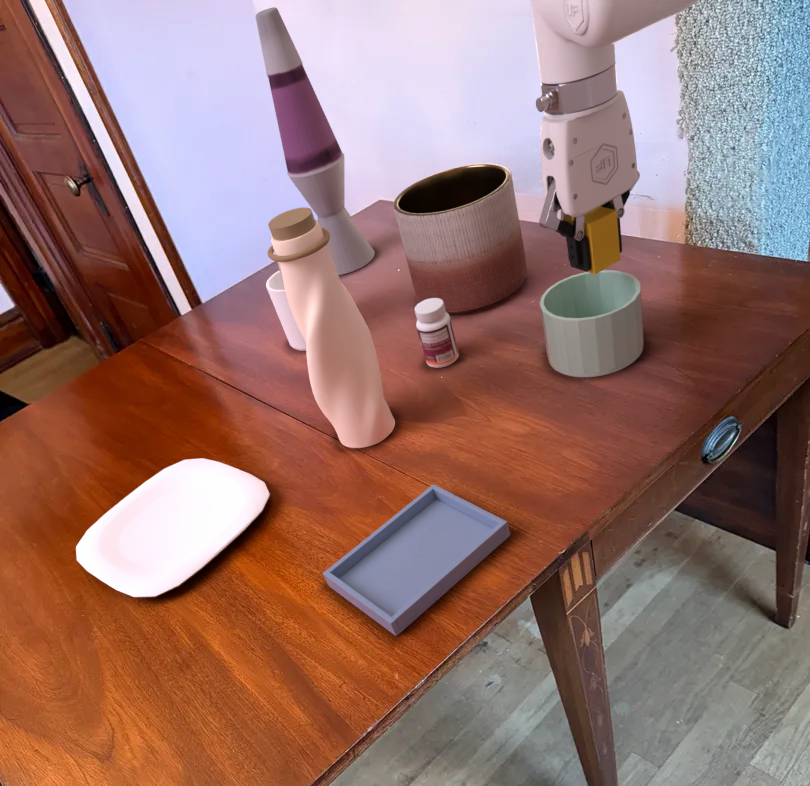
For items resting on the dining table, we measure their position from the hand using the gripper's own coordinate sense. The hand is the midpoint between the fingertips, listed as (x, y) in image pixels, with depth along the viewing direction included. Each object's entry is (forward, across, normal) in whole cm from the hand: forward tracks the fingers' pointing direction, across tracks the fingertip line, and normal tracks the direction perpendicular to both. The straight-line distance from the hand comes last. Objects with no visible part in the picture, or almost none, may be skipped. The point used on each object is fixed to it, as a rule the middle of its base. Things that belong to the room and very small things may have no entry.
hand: (596, 258), depth 89 cm
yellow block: (+1, 0, 0) cm, 1 cm away
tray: (+12, -39, -15) cm, 43 cm away
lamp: (+11, -7, +62) cm, 63 cm away
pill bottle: (+12, -15, +16) cm, 25 cm away
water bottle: (+12, -31, +11) cm, 35 cm away
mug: (+11, -22, +42) cm, 49 cm away
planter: (+12, 0, +30) cm, 32 cm away
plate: (+12, -58, +13) cm, 61 cm away
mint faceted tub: (+12, -2, 0) cm, 12 cm away
